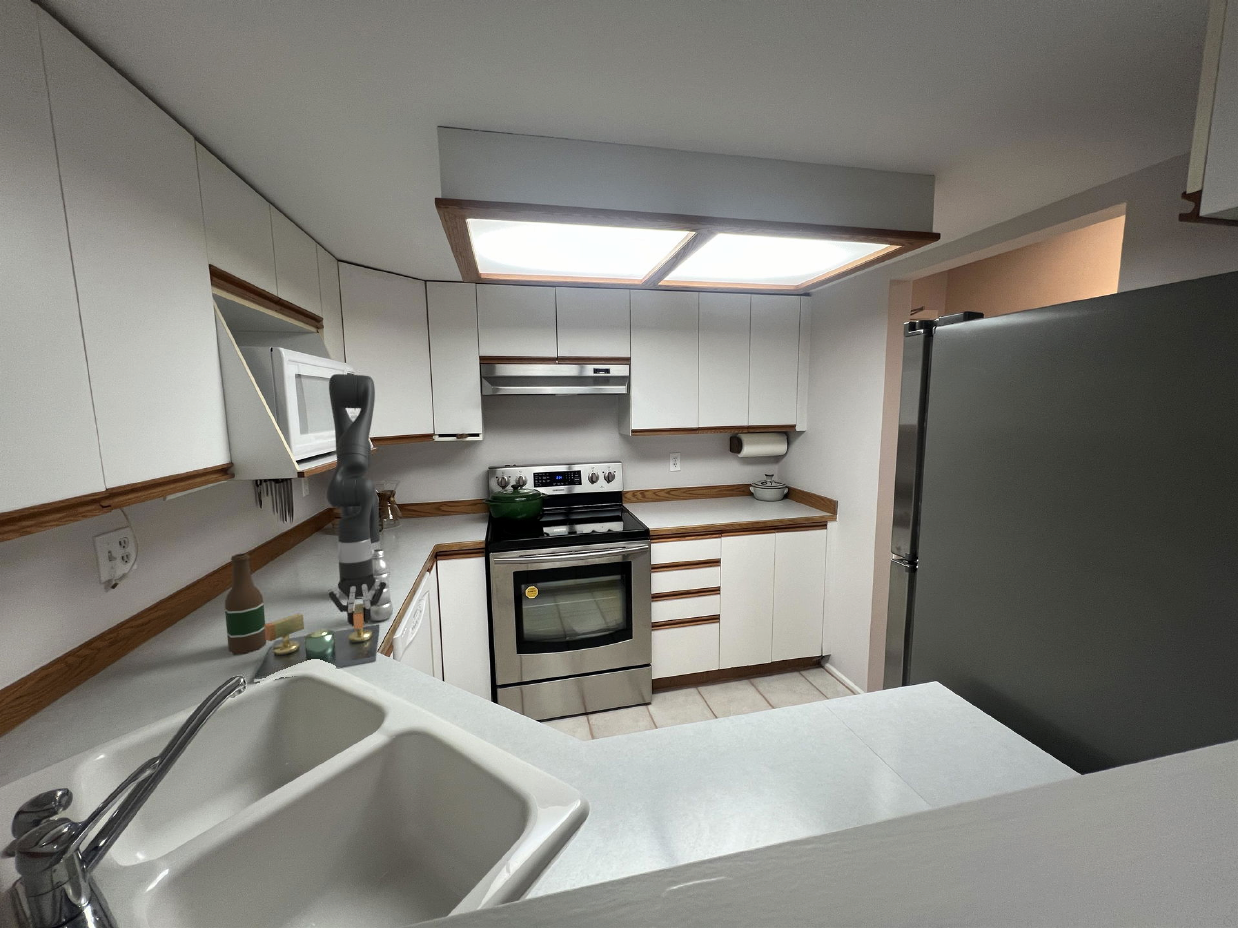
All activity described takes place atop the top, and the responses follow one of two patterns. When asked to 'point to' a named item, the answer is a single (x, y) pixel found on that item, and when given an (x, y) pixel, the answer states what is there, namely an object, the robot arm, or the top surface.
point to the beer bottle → (244, 610)
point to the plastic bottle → (384, 605)
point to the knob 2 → (359, 626)
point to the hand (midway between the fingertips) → (359, 623)
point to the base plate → (338, 659)
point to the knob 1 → (284, 633)
